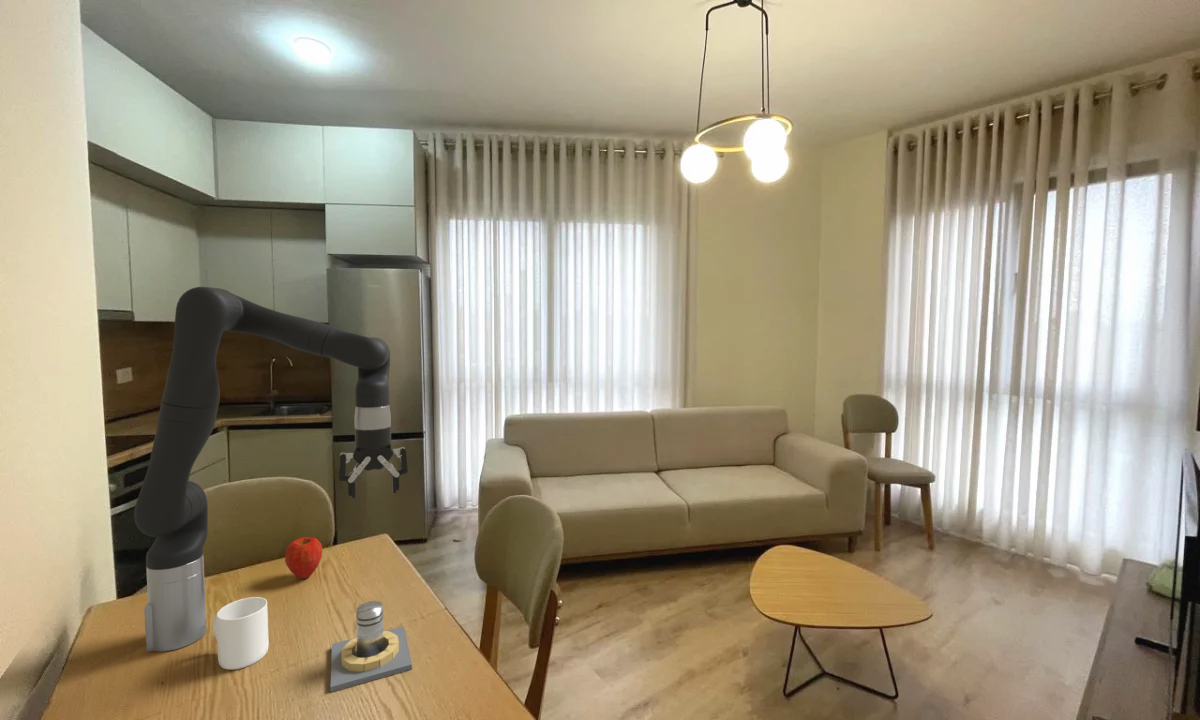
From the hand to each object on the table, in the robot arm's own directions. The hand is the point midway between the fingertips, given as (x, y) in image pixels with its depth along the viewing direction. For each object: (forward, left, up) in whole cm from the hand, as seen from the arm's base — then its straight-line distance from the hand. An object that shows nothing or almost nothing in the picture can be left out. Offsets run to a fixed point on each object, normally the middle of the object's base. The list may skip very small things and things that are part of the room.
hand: (374, 494), depth 115 cm
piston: (-2, -17, -27) cm, 32 cm away
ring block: (-2, -17, -28) cm, 33 cm away
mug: (-26, -4, -28) cm, 39 cm away
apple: (-16, +26, -28) cm, 42 cm away
